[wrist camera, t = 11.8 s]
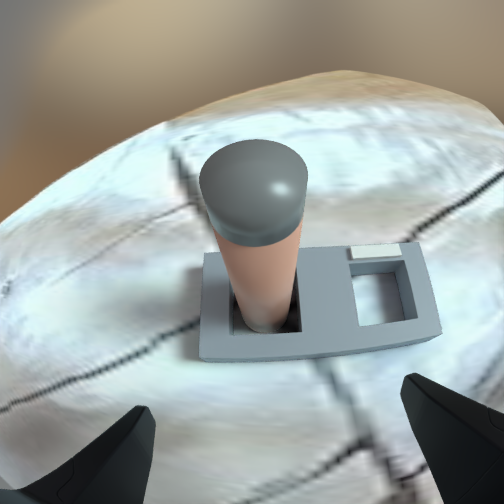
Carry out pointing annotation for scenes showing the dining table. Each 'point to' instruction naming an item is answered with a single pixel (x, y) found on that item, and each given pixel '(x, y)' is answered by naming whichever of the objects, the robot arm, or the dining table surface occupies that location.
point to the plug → (257, 224)
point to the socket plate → (323, 306)
